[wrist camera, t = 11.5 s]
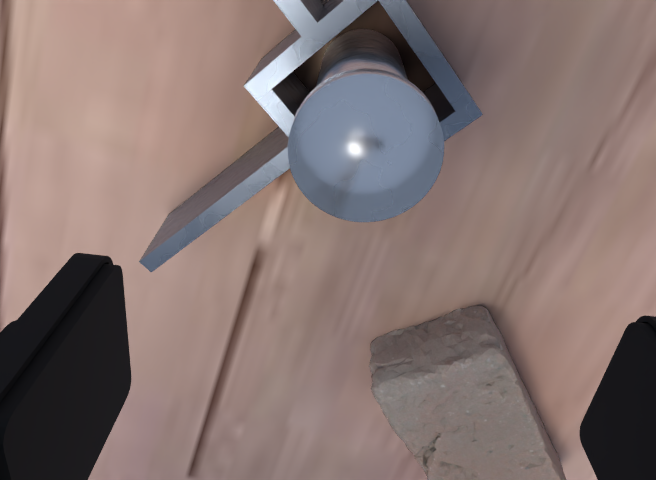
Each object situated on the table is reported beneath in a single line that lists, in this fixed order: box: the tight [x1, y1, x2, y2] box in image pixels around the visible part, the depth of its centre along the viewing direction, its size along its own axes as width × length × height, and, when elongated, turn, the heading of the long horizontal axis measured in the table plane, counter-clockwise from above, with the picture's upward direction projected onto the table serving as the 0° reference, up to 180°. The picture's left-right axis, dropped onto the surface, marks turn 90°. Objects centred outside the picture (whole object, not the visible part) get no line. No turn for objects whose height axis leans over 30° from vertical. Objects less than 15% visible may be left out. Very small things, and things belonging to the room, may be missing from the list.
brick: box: [369, 306, 566, 480], centre depth 36 cm, size 17×8×5 cm, turn 27°
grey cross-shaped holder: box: [139, 0, 483, 272], centre depth 25 cm, size 17×17×5 cm
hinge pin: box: [288, 29, 444, 222], centre depth 22 cm, size 5×5×11 cm
